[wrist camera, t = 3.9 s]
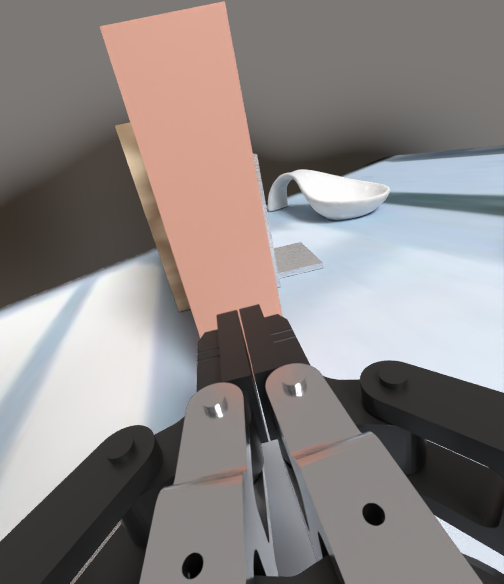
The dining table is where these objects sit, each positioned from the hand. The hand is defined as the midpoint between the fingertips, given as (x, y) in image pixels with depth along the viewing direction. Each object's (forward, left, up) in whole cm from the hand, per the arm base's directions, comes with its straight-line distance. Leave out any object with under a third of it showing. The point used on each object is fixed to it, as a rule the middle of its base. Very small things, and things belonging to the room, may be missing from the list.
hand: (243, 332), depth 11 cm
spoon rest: (+17, +43, -8) cm, 47 cm away
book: (0, +13, -7) cm, 15 cm away
